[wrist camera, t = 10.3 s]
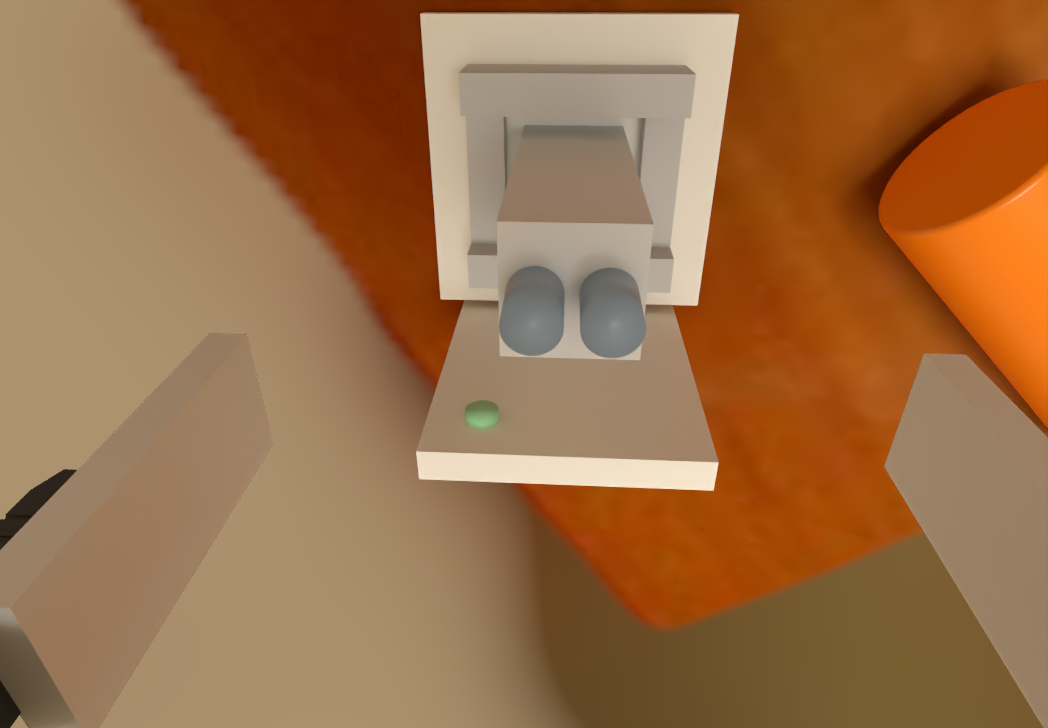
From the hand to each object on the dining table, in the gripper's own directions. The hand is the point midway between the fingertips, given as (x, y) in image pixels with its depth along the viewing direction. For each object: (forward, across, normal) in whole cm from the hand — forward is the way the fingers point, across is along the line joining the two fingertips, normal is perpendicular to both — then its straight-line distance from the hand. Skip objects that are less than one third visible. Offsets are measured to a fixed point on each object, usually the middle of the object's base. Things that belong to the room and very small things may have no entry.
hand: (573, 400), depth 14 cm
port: (+18, 0, 0) cm, 18 cm away
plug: (+17, 0, 0) cm, 17 cm away
